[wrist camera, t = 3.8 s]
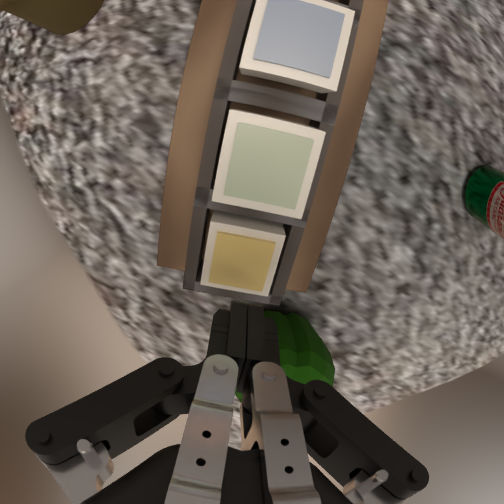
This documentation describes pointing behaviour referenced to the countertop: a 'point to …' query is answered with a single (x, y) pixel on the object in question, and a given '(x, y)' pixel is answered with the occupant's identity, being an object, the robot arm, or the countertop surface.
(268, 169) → the key
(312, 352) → the bell pepper
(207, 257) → the key
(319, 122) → the keypad
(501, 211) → the soda can
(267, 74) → the key
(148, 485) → the robot arm
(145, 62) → the countertop surface
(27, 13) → the cork
